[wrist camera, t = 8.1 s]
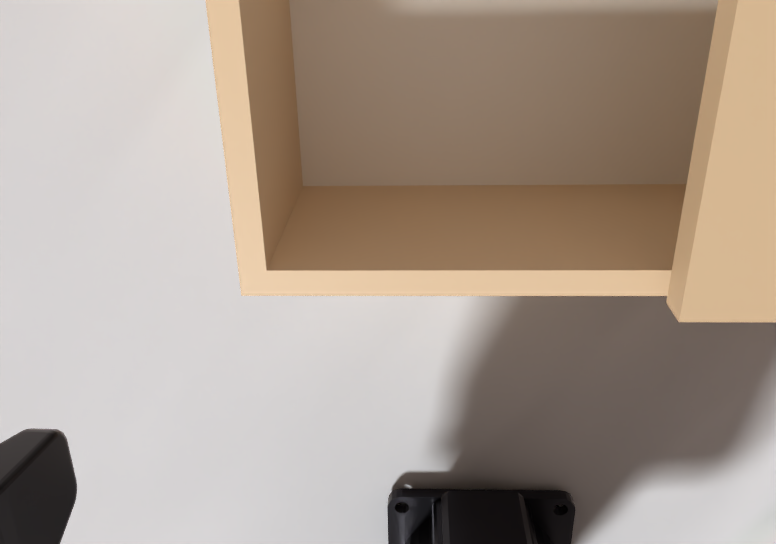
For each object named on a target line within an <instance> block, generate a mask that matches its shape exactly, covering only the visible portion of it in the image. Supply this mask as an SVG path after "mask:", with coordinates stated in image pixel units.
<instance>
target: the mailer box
mask: <svg viewBox="0 0 776 544" xmlns="http://www.w3.org/2000/svg"><path fill="white" fill-rule="evenodd" d="M717 5H718V0H206V8H207V16H208V25H209V33H210V41H211V49H212V57H213V66H214V74H215V82H216V90H217V99H218V107H219V115H220V123H221V131H222V140H223V148H224V156H225V164H226V173H227V181H228V189H229V197H230V205H231V214H232V222H233V230H234V238H235V247H236V255H237V263H238V271H239V279H240V288H241V296H667V295H668V289H669V283H670V278H671V272H672V266H673V260H674V254H675V249H676V243H677V237H678V231H679V226H680V220H681V214H682V208H683V202H684V197H685V191H686V185H687V179H688V173H689V168H690V162H691V156H692V150H693V144H694V139H695V133H696V127H697V121H698V115H699V110H700V104H701V98H702V92H703V86H704V81H705V75H706V69H707V63H708V57H709V52H710V46H711V40H712V34H713V28H714V23H715V17H716V11H717Z"/></svg>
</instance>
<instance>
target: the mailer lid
mask: <svg viewBox="0 0 776 544" xmlns="http://www.w3.org/2000/svg"><path fill="white" fill-rule="evenodd" d="M666 303H667V305H668V306H669V308H670V309H671V311H672V312H673V314H674V316H675V317H676V319H677V320H678V322H776V0H718V5H717V11H716V17H715V23H714V28H713V34H712V40H711V46H710V52H709V57H708V63H707V69H706V75H705V81H704V86H703V92H702V98H701V104H700V110H699V115H698V121H697V127H696V133H695V139H694V144H693V150H692V156H691V162H690V168H689V173H688V179H687V185H686V191H685V197H684V202H683V208H682V214H681V220H680V226H679V231H678V237H677V243H676V249H675V254H674V260H673V266H672V272H671V278H670V283H669V289H668V295H667V301H666Z"/></svg>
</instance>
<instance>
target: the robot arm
mask: <svg viewBox="0 0 776 544" xmlns="http://www.w3.org/2000/svg"><path fill="white" fill-rule="evenodd" d="M76 494H77V482H76V477H75V473H74V468H73V464H72V459H71V455H70V451H69V446H68V442H67V439H66V436H65V435H64V433H63V432H61V431H59V430H57V429H26V430H23V431H21V432H19V433H18V434H16V435H14V436H12V437H11V438H9V439H7V440H6V441H4V442H2V443H0V544H60V542H61V539H62V537H63V534H64V531H65V528H66V526H67V523H68V520H69V518H70V515H71V512H72V509H73V507H74V504H75V500H76ZM400 502H403V503H406V504H405V505H399V504H397V503H400ZM560 504H563V506H561V507H555V506H556V505H560ZM574 515H575V506H574V502H573V499H572V497H571V495H570V494H569V493H567V492H565V491H549V490H464V489H397V490H395V491H393V492H391V494H390V495H389V498H388V541H389V544H571V538H572V530H573V522H574Z"/></svg>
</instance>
